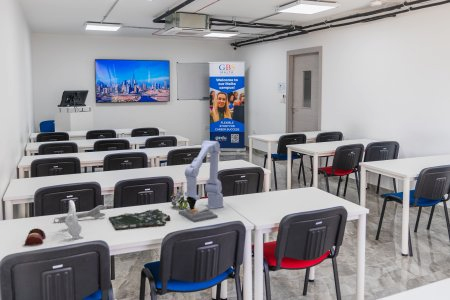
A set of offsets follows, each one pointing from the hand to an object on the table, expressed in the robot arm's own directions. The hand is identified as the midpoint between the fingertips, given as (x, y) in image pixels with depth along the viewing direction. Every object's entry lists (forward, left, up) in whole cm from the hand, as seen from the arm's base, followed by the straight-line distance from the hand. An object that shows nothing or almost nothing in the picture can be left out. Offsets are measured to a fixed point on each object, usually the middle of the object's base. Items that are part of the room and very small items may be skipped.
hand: (191, 209), depth 248 cm
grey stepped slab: (-4, 0, -5) cm, 6 cm away
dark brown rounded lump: (+86, -7, -5) cm, 87 cm away
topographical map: (+29, -8, -6) cm, 31 cm away
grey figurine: (+67, -8, -5) cm, 68 cm away
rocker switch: (-4, 0, -2) cm, 4 cm away
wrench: (+58, -29, -5) cm, 65 cm away
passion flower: (-3, -21, -5) cm, 22 cm away
